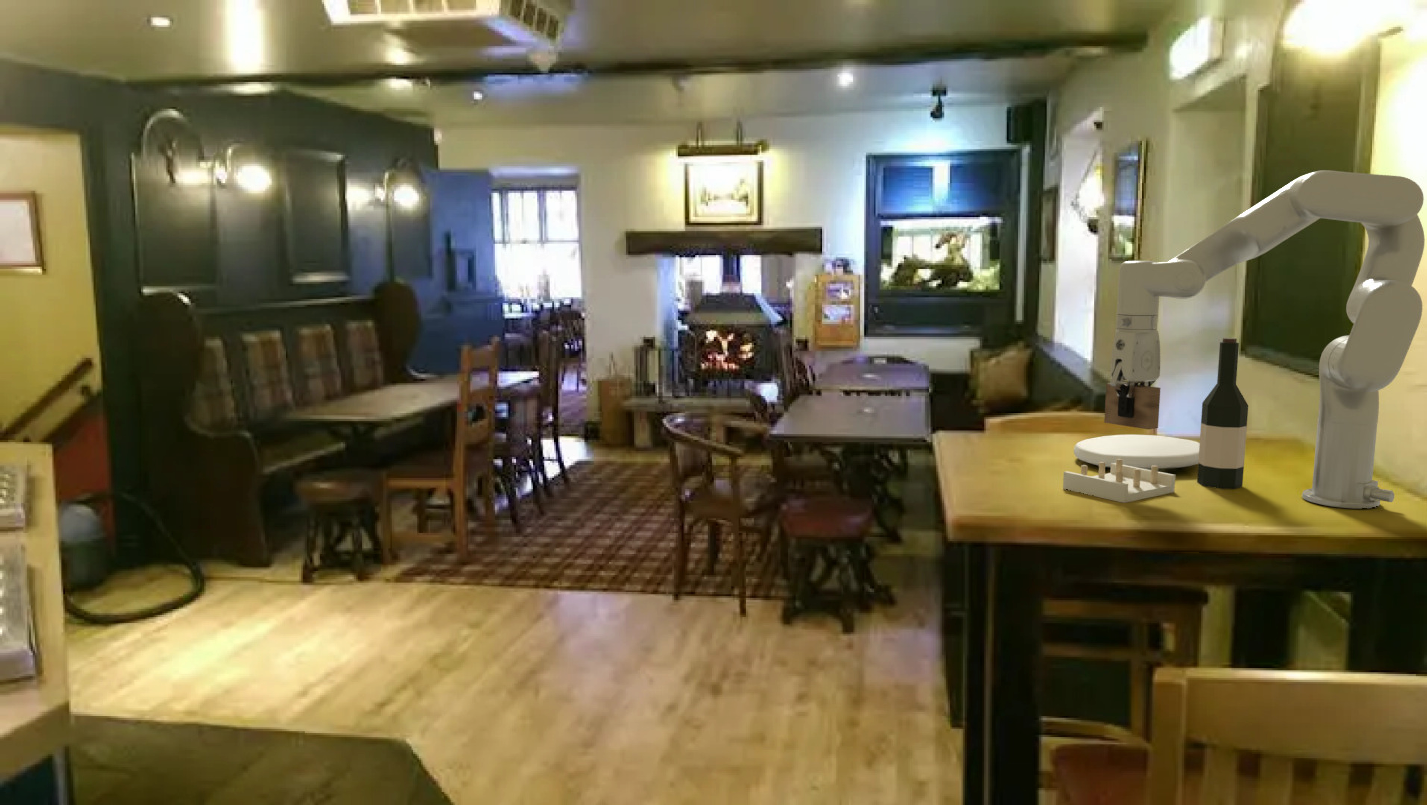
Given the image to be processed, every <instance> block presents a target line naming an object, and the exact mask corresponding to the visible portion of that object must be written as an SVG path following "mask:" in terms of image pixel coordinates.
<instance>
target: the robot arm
mask: <svg viewBox="0 0 1427 805" xmlns="http://www.w3.org/2000/svg"><path fill="white" fill-rule="evenodd" d="M1424 200H1425V199H1424V193H1423V189H1422V188H1421V187H1420V185H1419V184H1418V183H1417V182H1415V181H1414V180H1412V179H1411V178H1408V177H1405V176H1401V175H1387V174H1374V173H1363V172H1362V173H1360V172H1349V171H1339V170H1338V171H1337V170H1329V169H1327V170H1324V169H1323V170H1317V171H1313V172H1309V173H1306V174H1304V175H1303V174H1302V175H1301V176H1299V177H1297V178H1295V179H1294V180H1292V181H1290V182H1289V183H1288V184H1286V185H1284V186H1283V187H1282V188H1279V189H1278V190H1277V191H1275V192H1273V193H1272V194H1270V195H1269V196H1267V197H1266V198H1264V199H1262V200H1261V201H1259V202H1258V203H1256V204H1255V205H1253V206H1252V207H1250V208H1249V209H1247V210H1245V211H1244V212H1242V213H1240V214H1239V215H1238V216H1236V217H1235V218H1233V219H1231V220H1230V221H1229V222H1226V223H1225V224H1224V225H1223V226H1221V227H1220V228H1218V229H1217V230H1216V231H1214V232H1213V233H1210V235H1209V234H1208V236H1206V237H1205V238H1203V239H1202V240H1200V241H1198V242H1197V243H1195V244H1193V245H1192V246H1190V247H1189V248H1187V249H1185V250H1184V251H1183V252H1181V253H1179V254H1178V255H1176V256H1175V257H1173V258H1172V259H1170V260H1169V261H1161V262H1157V261H1154V260H1128V261H1127V260H1126V261H1124V262H1122V263H1121V264H1120V265H1119V267H1118V268H1119V270H1118V284H1117V303H1116V319H1115V320H1116V321H1115V334H1114V338H1113V343H1112V350H1111V357H1110V358H1111V359H1110V380H1109V383H1110V385H1111V386H1112V387H1114V388H1115V390H1116V391H1117V396H1118V397H1119V399H1118V416H1120V417H1127V418H1133V415H1134V398H1132V396H1133V387H1134V385H1141V386H1150V387H1152V386H1153V384H1155V382H1156V381H1157V380H1159V378H1160V376H1161V375H1160V373H1161V341H1160V335H1159V330H1158V322H1159V321H1158V320H1159V319H1158V318H1159V305H1160V304H1159V303H1160V301H1159V300H1160V297H1162V298H1163V297H1164V298H1171V299H1177V300H1188V299H1190V298H1193V297H1195V296H1198V295H1199V294H1200V293H1201V292H1202V291H1203V289H1204V288H1205V285H1206V282H1208V281H1209V280H1211V279H1213V278H1214V277H1216V276H1218V275H1219V274H1222V273H1223V272H1225V271H1227V270H1228V269H1230V268H1232V267H1234V266H1236V265H1238V264H1242V263H1244V262H1246V261H1249V260H1252V259H1256V258H1258V257H1260V256H1262V255H1264V254H1266V253H1267V252H1269V251H1271V250H1272V249H1274V248H1275V247H1277V246H1278V245H1280V244H1282V243H1283V242H1284V241H1286V240H1288V239H1289V238H1290V237H1292V236H1294V235H1295V234H1298V233H1299V232H1300V231H1302V230H1304V229H1305V228H1307V227H1309V226H1310V225H1312V224H1313V223H1315V222H1317V221H1318V220H1319V219H1327V220H1334V221H1335V220H1336V221H1340V222H1341V221H1343V222H1353V223H1360V224H1361V225H1362V226H1363V227H1364V229H1365V231H1366V234H1367V240H1368V243H1367V249H1366V254H1365V256H1364V260H1363V263H1362V265H1361V267H1360V269H1359V273H1358V275H1357V277H1356V280H1355V283H1354V285H1353V288H1352V290H1351V292H1350V294H1349V296H1348V299H1347V302H1346V307H1345V308H1346V309H1345V312H1346V314H1347V315H1346V316H1347V317H1348V319H1349V320H1350V322H1351V323H1352V324H1353V325H1352V327H1351V330H1350V333H1349V335H1342V336H1339V337H1337V338H1335V339H1333V340H1332V341H1331V342H1329V343H1328V344H1327V345H1326V346H1325V347H1324V348H1323V351H1322V352H1321V354H1320V355H1321V356H1320V358H1319V366H1318V374H1319V376H1318V378H1319V380H1318V381H1319V402H1318V404H1319V405H1318V415H1317V427H1316V438H1315V440H1316V441H1315V449H1314V462H1313V463H1314V464H1313V475H1312V484H1311V485H1312V486H1311V488H1307V489H1304V490H1303V491H1302V494H1301V497H1302V499H1304V501H1307V502H1310V503H1314V504H1317V505H1322V506H1327V507H1332V508H1333V507H1334V508H1341V509H1356V510H1357V509H1358V510H1359V509H1360V510H1361V509H1362V508H1367V509H1373V508H1372V507H1375V508H1377V507H1376V506H1378V507H1379V506H1380V505H1381V501H1382V502H1387V503H1392V502H1394V499H1395V493H1394V491H1393V490H1390V489H1386V488H1385V489H1383V488H1380V487H1379V481H1378V480H1374V479H1373V475H1374V464H1375V463H1374V462H1375V452H1376V441H1377V433H1378V432H1377V431H1378V430H1377V429H1378V424H1379V412H1380V411H1379V408H1380V407H1379V406H1380V395H1379V394H1380V393H1379V391H1380V390H1382V389H1383V390H1384V389H1385V388H1386V387H1387V386H1389V385H1390V384H1391V383H1392V382H1393V381H1394V380H1395V379H1396V377H1397V375H1398V374H1399V372H1400V370H1401V368H1402V366H1403V364H1404V362H1405V359H1406V356H1407V355H1408V352H1409V350H1410V348H1411V345H1412V343H1413V342H1412V341H1413V340H1414V338H1415V335H1416V332H1417V331H1418V328H1419V325H1420V322H1421V319H1422V315H1423V300H1422V297H1421V295H1420V293H1419V292H1418V290H1416V288H1415V287H1414V286H1413V284H1414V281H1415V278H1416V276H1417V272H1418V269H1419V267H1420V264H1421V260H1422V257H1423V254H1424V250H1425V233H1424V228H1423V225H1422V222H1421V218H1420V217H1419V215H1418V214H1419V213H1420V211H1421V210H1422V207H1423V206H1424ZM1124 384H1127V385H1128V387H1126V386H1125V385H1124Z"/></svg>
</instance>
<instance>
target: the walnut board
mask: <svg viewBox="0 0 1427 805" xmlns="http://www.w3.org/2000/svg"><path fill="white" fill-rule="evenodd" d="M1105 385H1106V386H1105V387H1106V388H1105V403H1104V422H1103V423H1105V424H1112V425H1117V426H1125V427H1130V428H1131V427H1132V428H1137V429H1141V430H1142V429H1143V430H1155V429H1159V418H1160V416H1159V415H1160V404H1161V403H1160V401H1161V387H1157V386H1141V385H1134V387H1133V396H1132V398H1134V415H1133V418H1127V417H1120V416H1118V399H1119V397H1118V396H1117V391H1116V390H1115V388H1114V387H1112V386H1111V385H1110V382H1108V383H1105ZM1124 385H1125V386H1126V387H1128V385H1127V384H1124Z"/></svg>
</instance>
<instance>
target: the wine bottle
mask: <svg viewBox="0 0 1427 805" xmlns="http://www.w3.org/2000/svg"><path fill="white" fill-rule="evenodd" d="M1237 340H1238V339H1237V338H1234V337H1232V338H1231V337H1223V338H1222V341H1220V342H1219V354H1218V366H1217V378H1216V382H1217V383H1216V384H1215V385H1214V387H1213V388H1212V389H1211V390H1210V392H1209V393H1208V395H1207V396H1206V397H1205V399H1204V400H1203V401H1202V405H1201V415H1200V416H1201V418H1200V432H1199V433H1200V435H1199V443H1200V446H1199V461H1198V464H1197V476H1196V477H1197V478H1196V483H1198V484H1199V485H1201V486H1203V487H1208V488H1214V489H1218V490H1219V489H1220V490H1221V489H1222V490H1223V489H1226V490H1228V489H1229V490H1236V489H1239V488H1243V483H1244V482H1243V481H1244V471H1245V470H1244V468H1245V467H1244V466H1245V459H1246V458H1245V456H1246V443H1247V442H1246V441H1247V430H1248V429H1247V428H1248V427H1247V426H1248V414H1249V405H1248V403H1247V401H1246V399H1245V398H1244V395H1243V393H1242V392H1241V390H1240V389H1239V387H1238V385H1237V376H1238V365H1239V364H1238V362H1239V351H1240V350H1239V348H1240V343H1239V342H1238V341H1237Z"/></svg>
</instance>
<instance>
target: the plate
mask: <svg viewBox="0 0 1427 805" xmlns="http://www.w3.org/2000/svg"><path fill="white" fill-rule="evenodd" d="M1199 446H1200V442H1198V441H1196V440H1191V439H1186V438H1177V437H1173V436H1163V435H1151V434H1149V435H1148V434H1115V435H1114V434H1113V435H1103V436H1098V437H1092V438H1087V439H1083V440H1081V441H1078V442H1076V444H1075V445H1074V448H1073V454H1074V456H1075V458H1077V459H1078V460H1080V461H1082V462H1085V463H1088V464H1091V465H1094V466H1095V465H1096V466H1098V467H1099V462H1105V468H1111V463H1116V459H1122V460H1123V463H1122V465H1127V466H1132V467H1137V468H1142V469H1147V470H1151V466H1158V470H1163V469H1164V470H1165V469H1177V468H1186V467H1191V466H1195V465H1198V461H1199Z"/></svg>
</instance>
